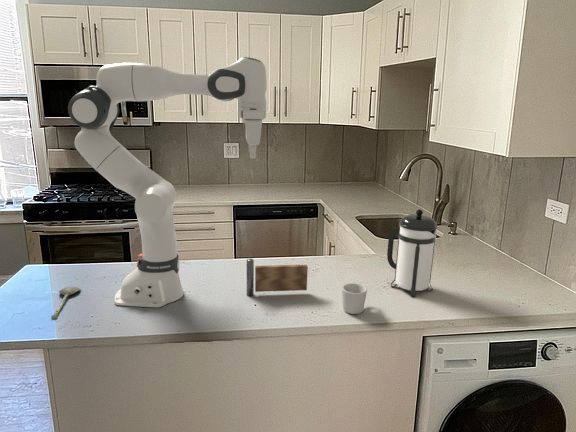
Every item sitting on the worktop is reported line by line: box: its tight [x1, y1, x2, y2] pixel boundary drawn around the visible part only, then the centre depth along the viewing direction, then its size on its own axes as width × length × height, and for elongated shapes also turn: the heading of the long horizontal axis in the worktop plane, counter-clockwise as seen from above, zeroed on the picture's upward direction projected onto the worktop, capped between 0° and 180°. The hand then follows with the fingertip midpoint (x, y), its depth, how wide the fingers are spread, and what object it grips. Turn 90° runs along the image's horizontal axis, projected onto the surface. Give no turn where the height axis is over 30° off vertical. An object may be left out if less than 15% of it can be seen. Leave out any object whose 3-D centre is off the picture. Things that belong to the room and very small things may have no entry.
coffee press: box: [386, 209, 438, 298], centre depth 157 cm, size 17×16×30 cm
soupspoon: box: [50, 286, 81, 319], centre depth 143 cm, size 22×3×7 cm
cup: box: [341, 282, 368, 315], centre depth 142 cm, size 11×8×8 cm
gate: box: [254, 264, 309, 293], centre depth 151 cm, size 18×2×9 cm, turn 97°
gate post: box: [246, 258, 255, 297], centre depth 150 cm, size 2×2×13 cm
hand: (252, 156), depth 141 cm, fingers open, 8 cm apart
